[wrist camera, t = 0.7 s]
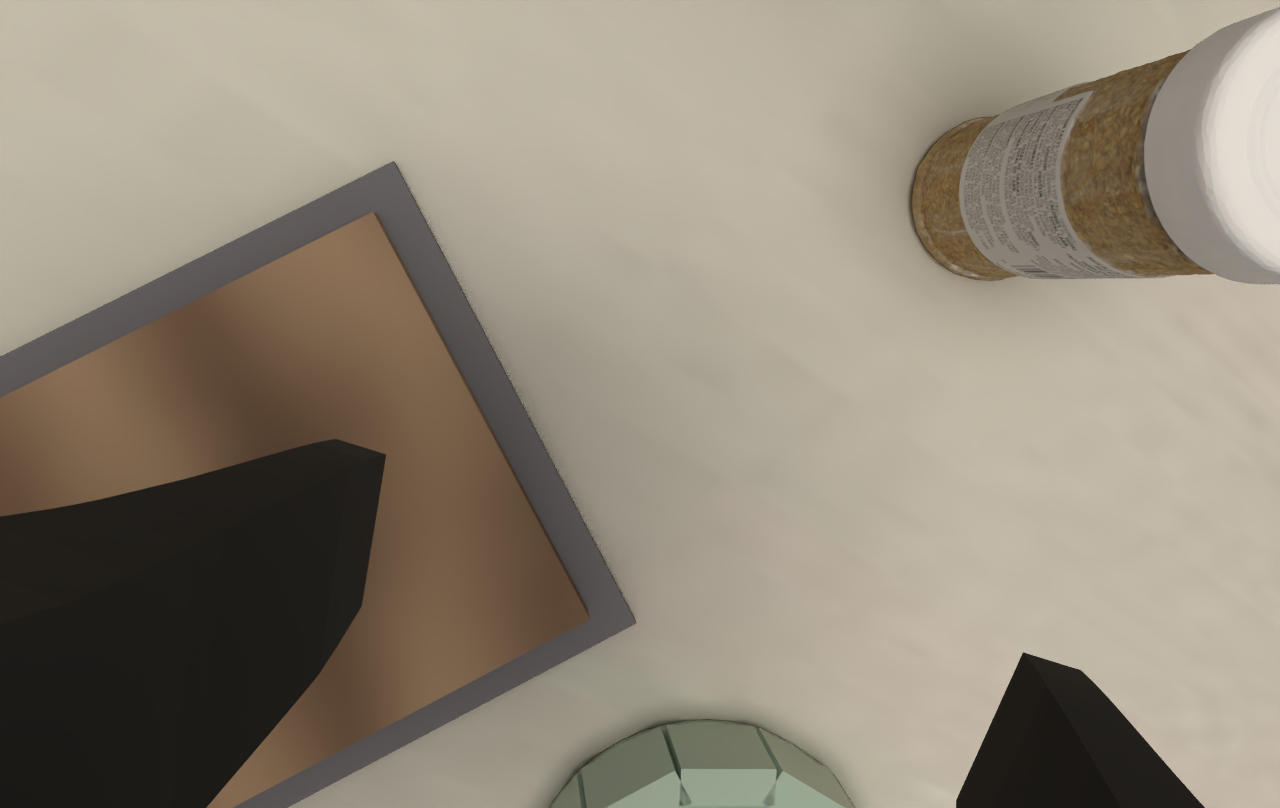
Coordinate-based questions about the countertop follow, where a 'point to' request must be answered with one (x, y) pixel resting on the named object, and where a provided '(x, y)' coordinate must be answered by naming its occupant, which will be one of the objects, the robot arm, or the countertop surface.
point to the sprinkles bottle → (1121, 173)
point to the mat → (483, 376)
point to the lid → (304, 414)
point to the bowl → (703, 771)
